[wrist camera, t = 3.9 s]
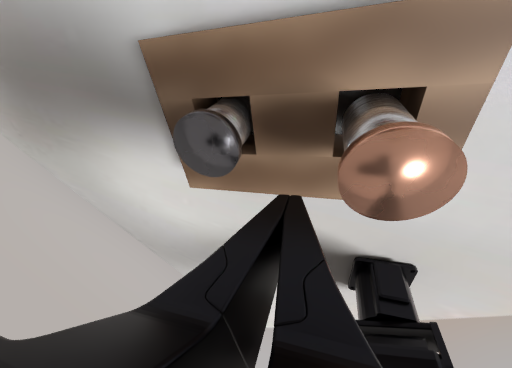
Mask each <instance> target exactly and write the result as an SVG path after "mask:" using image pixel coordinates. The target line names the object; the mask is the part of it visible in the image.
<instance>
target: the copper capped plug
mask: <svg viewBox="0 0 512 368" xmlns="http://www.w3.org/2000/svg"><path fill="white" fill-rule="evenodd" d="M341 127H342V136H343V145H344V153H343V155H342V157H341V159H340V162H339V165H338V188H339V192H340V195H341V197H342V199H343V200H344V201H345V203H346V204H347V205H348V206H349V207H350V208H351V209H353V210H354V211H356V212H357V213H359V214H361V215H363V216H366V217H369V218H373V219H377V220H384V221H401V220H408V219H414V218H417V217H421V216H424V215H426V214H429V213H431V212H433V211H435V210H437V209H439V208H441V207H442V206H444V205H445V204H446V203H448V202H449V201H450V200H451V199H452V198H453V197H454V196H455V195H456V194H457V193H458V192H459V190H460V189H461V187H462V186H463V184H464V181H465V179H466V175H467V161H466V158H465V155H464V153H463V151H462V150H461V149H460V147H459V146H458V145H457V144H456V143H455V142H454V141H453V140H451V139H450V138H449V137H448V136H447V135H446V134H445V133H444V132H443V131H441V130H440V129H438V128H436V127H434V126H431V125H428V124H425V123H420V122H417V121H416V120H415V119H414V117H413V116H412V115H411V114H410V113H409V112H408V111H407V110H406V108H405V107H404V106H403V105H402V104H401V103H400V102H399V101H398V100H397V99H396V98H395V97H393V96H391V95H389V94H386V93H372V94H368V95H365V96H363V97H360V98H359V99H357V100H356V101H354V102H353V103H352V104H351V105H350V106H349V107H348V108H347V110H346V111H345V113H344V115H343V118H342V124H341Z"/></svg>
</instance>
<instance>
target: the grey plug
mask: <svg viewBox="0 0 512 368" xmlns="http://www.w3.org/2000/svg"><path fill="white" fill-rule="evenodd" d="M252 131H253V121H252V113H251V105H250V97H249V96H234V97H224V98H222V99H221V100H219V101H218V102H216V103H215V104H214V105H212V106H211V107H209V108H208V109H197V110H194V111H191V112H190V113H188V114H187V115H185V116H183V117H182V118H181V119H180V120H179V121H178V122H177V123H176V125H175V128H174V131H173V141H174V145H175V148H176V151H177V153H178V155H179V156H180V158H181V159H182V160H183V162H184V163H185V164H186V165H187V166H188V167H190V168H191V169H192V170H194V171H195V172H197V173H199V174H201V175H204V176H208V177H221V176H224V175H227V174H228V173H230V172H231V171H232V170H233V169H234V167H235V166H236V164H237V163H238V161H239V160H240V157H241V154H242V145H243V144H244V143H245V141H246V140H247V138H248V137H249V136H250V134H251V133H252Z"/></svg>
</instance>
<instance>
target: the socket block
mask: <svg viewBox="0 0 512 368" xmlns="http://www.w3.org/2000/svg"><path fill="white" fill-rule="evenodd" d="M138 42H139V45H140V48H141V50H142V53H143V56H144V59H145V62H146V64H147V67H148V70H149V73H150V76H151V79H152V81H153V84H154V87H155V90H156V93H157V95H158V98H159V101H160V104H161V107H162V110H163V112H164V115H165V118H166V121H167V124H168V126H169V129H170V132H171V135H172V138H173V131H174V128H175V125H176V123H177V122H178V121H179V120H180V119H181V118H182V117H183V116H185V115H187V114H188V113H190V112H191V111H194V110H197V109H208V108H209V107H211V106H212V105H214V104H215V103H216V102H218V101H217V97H234V96H249V97H250V105H251V113H252V121H253V130H254V134H250V136H249V137H248V138H247V140H246V141H245V143H244V144H243V145H242V154H241V157H240V160H239V161H238V163H237V164H236V166H235V167H234V169H233V170H232V171H231V172H230V173H228V174H227V175H224V176H221V177H208V176H204V175H201V174H199V173H197V172H195V171H194V170H192V169H191V168H190V167H188V166H187V165H186V164H185V163H184V162H183V160H182V159H181V158H180V160H181V163H182V166H183V169H184V171H185V174H186V177H187V180H188V183H189V186H190V187H191V188H204V189H216V190H228V191H241V192H253V193H265V194H278V195H280V194H286V195H290V196H291V195H300V196H303V197H315V198H327V199H340V200H343V199H342V197H341V195H340V192H339V188H338V165H339V162H340V159H341V157H342V155H343V153H344V145H343V136H342V134H335V127H336V117H337V108H338V98H339V91H349V90H368V89H388V88H403V89H402V92H401V96H400V100H399V102H400V103H401V104H402V105H403V106H404V107H405V108H406V110H407V111H408V112H409V113H410V114H411V115H412V116H413V117H414V119H415V120H416V121H417V122H420V123H425V124H428V125H431V126H434V127H436V128H438V129H440V130H441V131H443V132H444V133H445V134H446V135H447V136H448V137H449V138H450V139H451V140H453V141H454V142H455V143H456V144H457V145H458V146H459V147H460V149H461V150H462V148H463V146H464V144H465V142H466V140H467V137H468V135H469V133H470V131H471V129H472V127H473V125H474V123H475V121H476V119H477V117H478V115H479V112H480V110H481V108H482V106H483V104H484V102H485V100H486V98H487V96H488V94H489V92H490V90H491V88H492V85H493V83H494V81H495V79H496V77H497V75H498V73H499V71H500V69H501V67H502V65H503V63H504V60H505V58H506V56H507V54H508V52H509V50H510V48H511V46H512V0H403V1H396V2H389V3H383V4H376V5H370V6H363V7H356V8H350V9H343V10H336V11H330V12H323V13H317V14H310V15H303V16H297V17H290V18H283V19H277V20H270V21H264V22H257V23H250V24H244V25H237V26H231V27H224V28H217V29H211V30H204V31H197V32H191V33H184V34H178V35H171V36H164V37H158V38H151V39H145V40H138ZM179 157H180V156H179Z"/></svg>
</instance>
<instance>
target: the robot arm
mask: <svg viewBox="0 0 512 368" xmlns="http://www.w3.org/2000/svg"><path fill="white" fill-rule="evenodd" d="M417 272H418V270H417V268H416V267H415V266H412V265H405V264H398V263H392V262H385V261H378V260H371V259H365V258H355V259H354V263H353V267H352V271H351V275H350V279H349V283H348V288H349V289H351V290H356V299H357V309H358V320H355V319H354V317H353V315H352V313H351V311H350V310H349V308H348V306H347V304H346V302H345V300H344V298H343V297H342V295H341V293H340V291H339V289H338V287H337V285H336V282H335V280H334V278H333V275H332V273H331V271H330V268H329V266H328V263H327V261H326V259H325V256H324V253H323V251H322V248H321V246H320V243H319V241H318V238H317V236H316V233H315V230H314V228H313V225H312V223H311V220H310V218H309V215H308V212H307V210H306V207H305V205H304V202H303V200H302V197H301V196H300V195H291V196H290V195H286V194H280V195H278V196H277V197H276V198H275V199H274V200H273V201H271V202H270V203H269V204H268V205H267V206H266V207H265V208H264V209H263V210H261V211H260V212H259V213H258V214H257V215H256V216H255V217H254V218H252V219H251V220H250V221H249V222H248V223H247V224H246V225H245V226H244V227H242V228H241V229H240V230H239V231H238V232H237V233H236V234H235V235H233V236H232V237H231V238H230V239H229V240H228V241H227V242H226V243H225V244H224V246H221V247H220V248H219V249H218V250H217V251H215V252H214V253H213V254H212V255H211V256H210V257H208V258H207V259H206V260H205V261H204V262H202V263H201V264H200V265H199V266H197V267H196V268H195V269H193V270H192V271H191V272H190V273H188V274H187V275H185V276H184V277H183V278H182V279H180V280H179V281H177V282H176V283H175V284H173V285H172V286H171V287H169V288H168V289H167V290H165V291H164V292H163V293H161V294H160V295H158V296H157V297H156V298H154V299H153V300H151V301H150V302H148V303H147V304H145V305H143V306H141V307H139V308H137V309H134V310H132V311H129V312H125V313H122V314H118V315H115V316H112V317H108V318H104V319H101V320H97V321H94V322H90V323H87V324H83V325H80V326H77V327H72V328H69V329H65V330H62V331H58V332H55V333H51V334H48V335H44V336H40V337H36V338H30V339H24V340H9V339H7V338H4V337H2V336H0V368H255V364H256V361H257V357H258V353H259V349H260V346H261V342H262V339H263V335H264V331H265V327H266V324H267V320H268V316H269V313H270V309H271V305H272V301H273V298H274V294H275V290H276V287H277V297H276V309H275V320H274V332H273V342H272V349H271V356H270V360H269V365H268V368H453V365H452V362H451V359H450V357H449V354H448V352H447V349H446V346H445V343H444V341H443V338H442V336H441V333H440V330H439V328H438V325H437V323H436V322H430V323H421V322H420V321H419V318H418V315H417V311H416V308H415V305H414V301H413V298H412V295H411V291H410V288H409V287H410V285H411V283H412V281H413V280H414V278H415V276H416V274H417ZM277 283H278V285H277ZM437 352H439V354H437Z"/></svg>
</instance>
